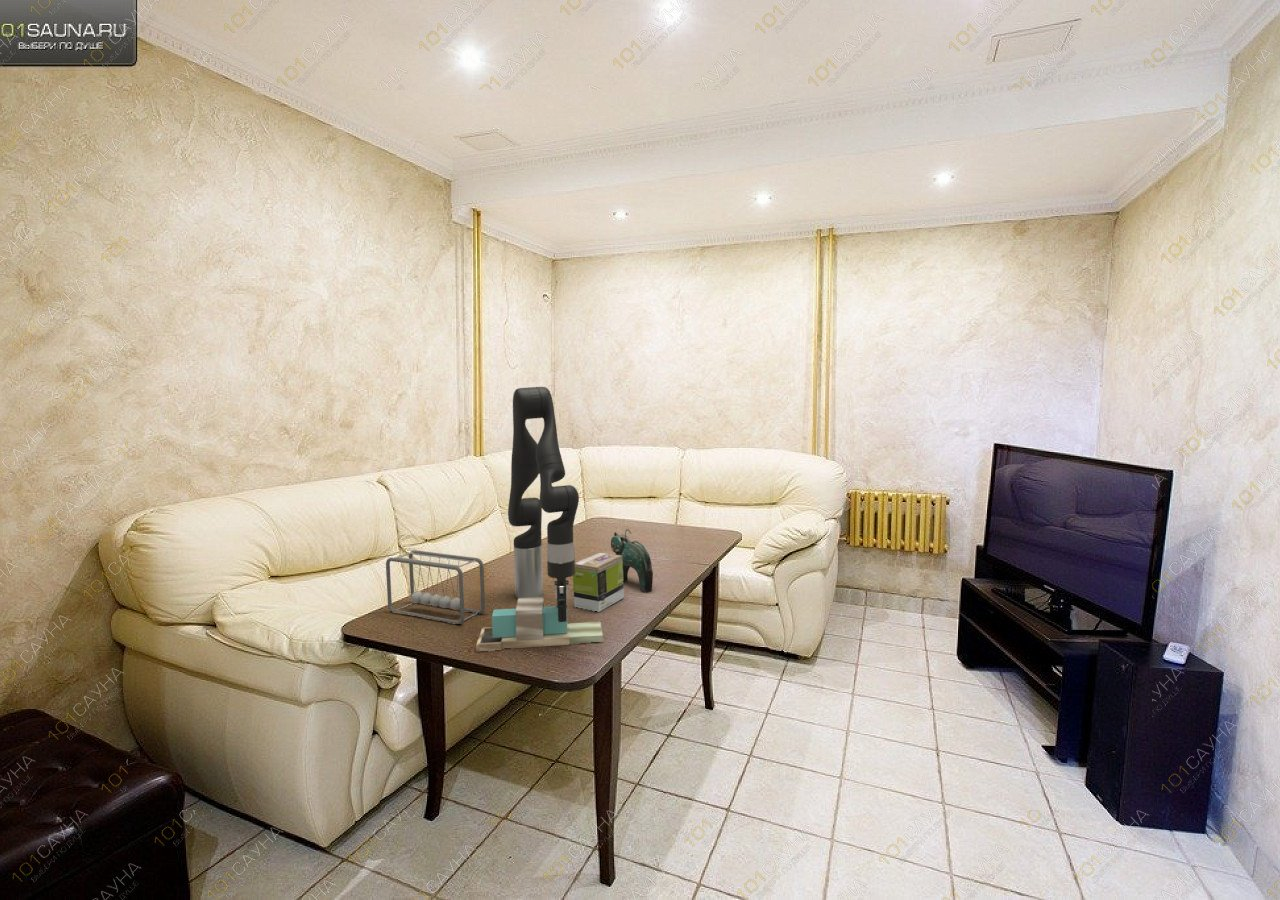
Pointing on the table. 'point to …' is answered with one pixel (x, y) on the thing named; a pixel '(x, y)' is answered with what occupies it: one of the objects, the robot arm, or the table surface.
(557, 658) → the table surface
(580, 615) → the table surface
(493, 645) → the tunnel track
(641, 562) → the ceramic cat
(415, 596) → the newton's cradle
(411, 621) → the table surface
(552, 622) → the teal block
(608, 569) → the tea box
